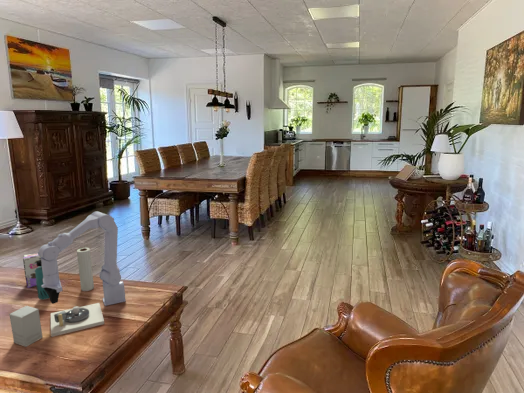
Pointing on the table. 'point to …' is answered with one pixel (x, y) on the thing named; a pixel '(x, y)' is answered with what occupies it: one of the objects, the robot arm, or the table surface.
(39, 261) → the beverage bottle
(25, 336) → the supplement box
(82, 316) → the flange
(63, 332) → the base plate
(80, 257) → the paper towel roll
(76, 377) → the table surface
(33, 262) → the candy box
